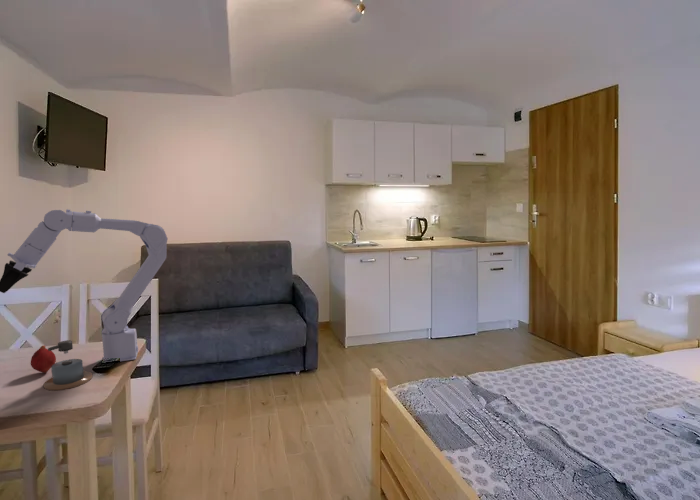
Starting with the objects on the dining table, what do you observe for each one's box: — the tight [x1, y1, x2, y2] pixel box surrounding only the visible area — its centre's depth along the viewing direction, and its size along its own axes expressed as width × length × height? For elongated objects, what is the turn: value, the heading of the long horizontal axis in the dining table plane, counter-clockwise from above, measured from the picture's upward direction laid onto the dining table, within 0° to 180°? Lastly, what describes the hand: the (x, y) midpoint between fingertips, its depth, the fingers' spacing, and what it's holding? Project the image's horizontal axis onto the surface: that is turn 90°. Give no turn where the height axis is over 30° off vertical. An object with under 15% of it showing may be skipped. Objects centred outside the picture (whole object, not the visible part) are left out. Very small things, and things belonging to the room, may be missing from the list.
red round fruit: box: [30, 345, 57, 374], centre depth 120 cm, size 6×6×8 cm
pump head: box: [47, 339, 74, 354], centre depth 112 cm, size 5×5×3 cm
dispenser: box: [43, 358, 93, 391], centre depth 114 cm, size 11×11×6 cm
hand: (2, 289), depth 113 cm, fingers open, 7 cm apart
